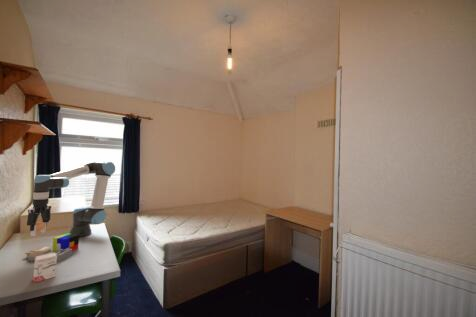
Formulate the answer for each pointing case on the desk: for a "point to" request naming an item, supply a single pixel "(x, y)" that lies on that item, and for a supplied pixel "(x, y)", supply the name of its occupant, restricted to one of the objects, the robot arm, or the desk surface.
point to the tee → (29, 253)
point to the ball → (39, 225)
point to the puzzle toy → (65, 242)
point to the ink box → (45, 267)
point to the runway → (47, 250)
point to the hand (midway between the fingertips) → (38, 233)
